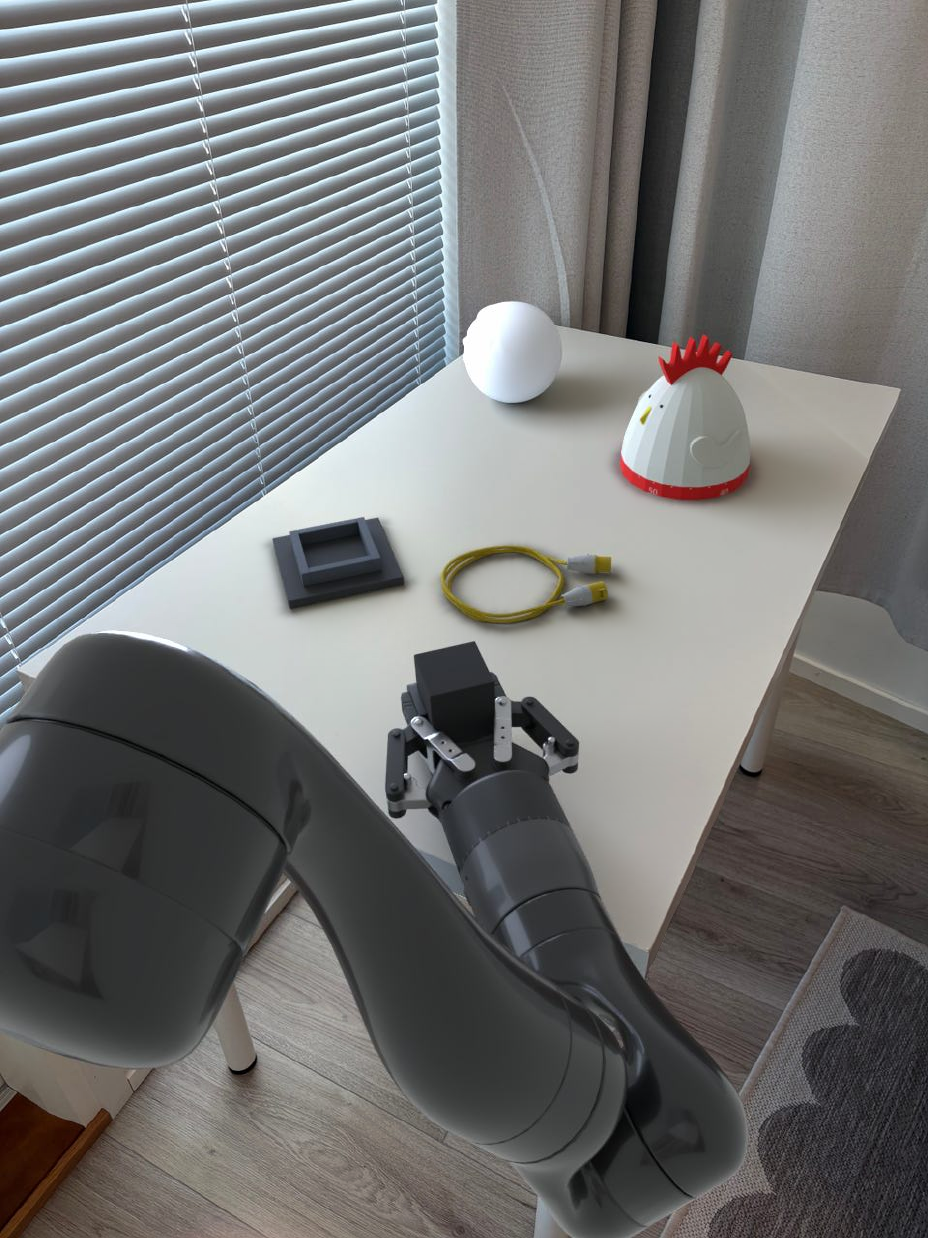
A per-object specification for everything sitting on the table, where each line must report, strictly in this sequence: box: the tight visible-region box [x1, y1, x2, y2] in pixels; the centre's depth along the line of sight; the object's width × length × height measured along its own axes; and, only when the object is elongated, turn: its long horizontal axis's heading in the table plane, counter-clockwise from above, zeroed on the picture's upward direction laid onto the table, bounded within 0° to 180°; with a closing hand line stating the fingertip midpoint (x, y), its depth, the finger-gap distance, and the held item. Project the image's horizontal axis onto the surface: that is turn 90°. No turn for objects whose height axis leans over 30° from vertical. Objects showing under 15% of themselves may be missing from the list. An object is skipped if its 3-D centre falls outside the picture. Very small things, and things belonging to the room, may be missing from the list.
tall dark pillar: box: [413, 640, 495, 776], centre depth 69 cm, size 5×5×10 cm
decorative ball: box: [462, 300, 563, 404], centre depth 116 cm, size 12×12×12 cm
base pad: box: [271, 516, 405, 610], centre depth 93 cm, size 11×11×2 cm
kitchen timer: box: [619, 334, 751, 501], centre depth 100 cm, size 14×14×15 cm
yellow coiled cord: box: [440, 545, 612, 624], centre depth 89 cm, size 12×16×2 cm
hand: (445, 684), depth 71 cm, fingers closed on tall dark pillar, 4 cm apart
